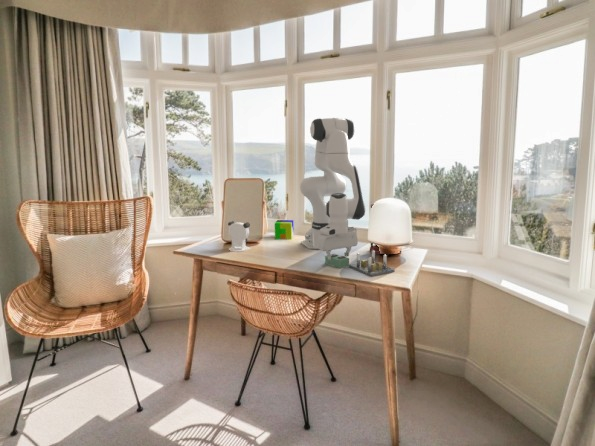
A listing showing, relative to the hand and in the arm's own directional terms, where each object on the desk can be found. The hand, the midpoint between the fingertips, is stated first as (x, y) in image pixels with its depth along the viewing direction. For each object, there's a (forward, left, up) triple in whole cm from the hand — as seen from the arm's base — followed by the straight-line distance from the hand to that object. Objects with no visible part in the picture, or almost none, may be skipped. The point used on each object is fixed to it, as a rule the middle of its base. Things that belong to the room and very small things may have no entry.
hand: (338, 257), depth 182 cm
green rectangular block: (-1, 0, -4) cm, 4 cm away
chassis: (+13, +9, -4) cm, 16 cm away
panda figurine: (-53, -29, -4) cm, 61 cm away
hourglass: (-7, +35, -4) cm, 36 cm away
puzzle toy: (-65, +5, -4) cm, 65 cm away
